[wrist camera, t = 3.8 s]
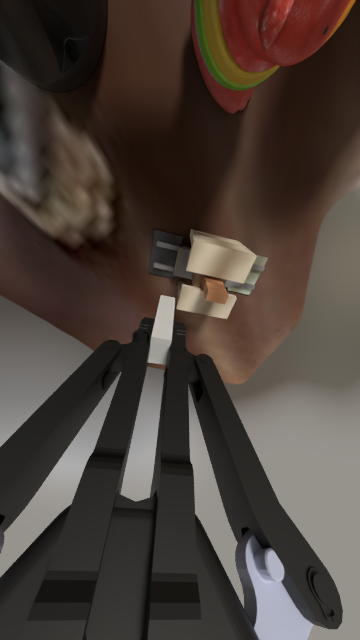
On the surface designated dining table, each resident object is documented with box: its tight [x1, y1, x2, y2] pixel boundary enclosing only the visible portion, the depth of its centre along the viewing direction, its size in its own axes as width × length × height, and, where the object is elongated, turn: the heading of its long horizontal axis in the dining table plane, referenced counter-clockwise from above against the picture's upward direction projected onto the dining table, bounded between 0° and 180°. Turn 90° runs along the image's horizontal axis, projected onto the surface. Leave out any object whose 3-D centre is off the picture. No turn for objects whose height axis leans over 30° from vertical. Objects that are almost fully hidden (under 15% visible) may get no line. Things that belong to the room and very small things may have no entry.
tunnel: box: [149, 229, 268, 319], centre depth 30 cm, size 22×11×9 cm, turn 77°
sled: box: [173, 246, 235, 304], centre depth 28 cm, size 12×5×12 cm, turn 77°
